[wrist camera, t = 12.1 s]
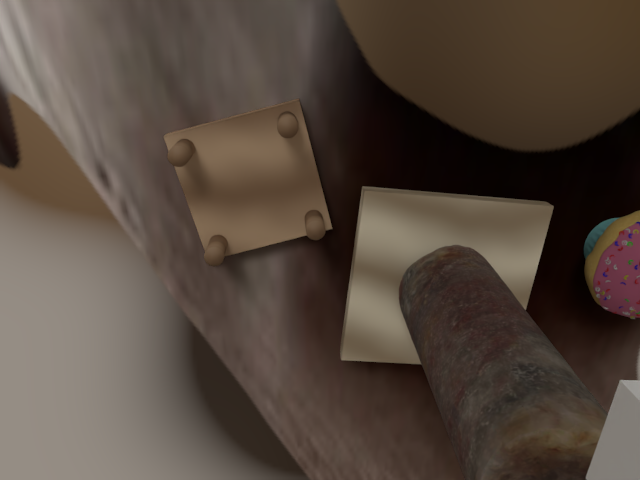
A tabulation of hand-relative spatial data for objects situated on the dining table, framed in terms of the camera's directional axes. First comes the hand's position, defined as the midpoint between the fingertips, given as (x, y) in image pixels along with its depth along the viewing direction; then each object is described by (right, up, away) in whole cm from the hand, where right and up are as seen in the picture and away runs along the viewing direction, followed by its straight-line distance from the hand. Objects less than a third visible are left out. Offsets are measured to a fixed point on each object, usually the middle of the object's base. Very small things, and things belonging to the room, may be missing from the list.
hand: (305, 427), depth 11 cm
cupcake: (+25, +4, +34) cm, 42 cm away
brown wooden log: (+10, 0, +30) cm, 31 cm away
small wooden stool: (+9, +2, +33) cm, 35 cm away
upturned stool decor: (-5, +8, +30) cm, 31 cm away
